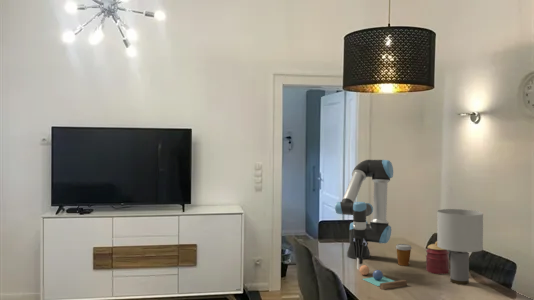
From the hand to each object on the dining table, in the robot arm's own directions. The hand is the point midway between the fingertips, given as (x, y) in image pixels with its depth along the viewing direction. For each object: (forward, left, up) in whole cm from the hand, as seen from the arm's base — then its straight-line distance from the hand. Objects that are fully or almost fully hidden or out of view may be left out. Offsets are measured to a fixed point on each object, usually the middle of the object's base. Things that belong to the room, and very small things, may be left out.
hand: (359, 269), depth 266 cm
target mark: (+19, 0, -2) cm, 19 cm away
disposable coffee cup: (-3, +35, -2) cm, 35 cm away
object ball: (+17, 0, +1) cm, 17 cm away
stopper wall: (+30, 0, -2) cm, 30 cm away
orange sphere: (+6, -1, +1) cm, 6 cm away
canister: (+17, +43, -2) cm, 46 cm away
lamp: (+38, +38, -2) cm, 54 cm away
